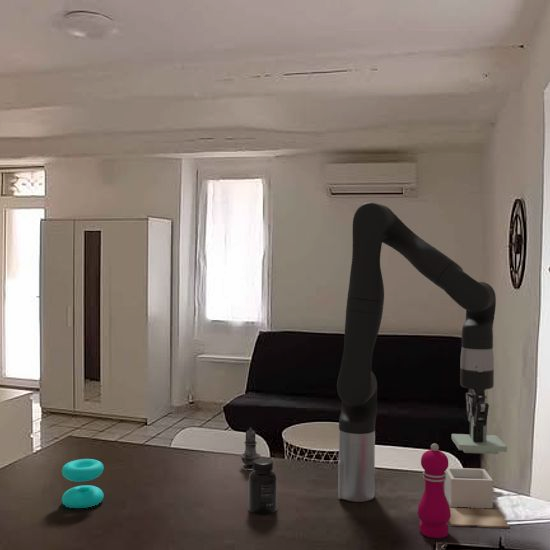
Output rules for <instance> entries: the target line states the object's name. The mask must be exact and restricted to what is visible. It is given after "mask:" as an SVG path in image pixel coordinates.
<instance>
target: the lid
mask: <svg viewBox="0 0 550 550" xmlns="http://www.w3.org/2000/svg"><path fill="white" fill-rule="evenodd" d="M478 420H481V418H478ZM472 423H473V417H471V437H470V433H469V434H465V433H451V440H452V442H453V443H454V444H455V446H456V448H457V449H458V450H459V451H463V453H465V454H483V455H485V454H486V455H487V454H489V455H490V454H491V455H499V452H502V453H507V452H508V450H507V449H508V447H507V445H506V444H505V443H504V441H502V440H501V439H500V438H499V437H498V436H497V435H495V434H494V435H493V434H491V435H490V434H487V431H488V430H487V429H488V427H487V425H488V424H486V426H484V427H483V442H481V443H480V442H474V441H473V424H472Z"/></svg>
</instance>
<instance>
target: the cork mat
mask: <svg viewBox="0 0 550 550" xmlns="http://www.w3.org/2000/svg"><path fill="white" fill-rule="evenodd" d="M450 512H451V517H450V520H449V521H448V522H449V524H450V526H452V527H470V526H477V527H476V528H496V529H497V528H499V529H500V528H501V529H503V528H504V529H510V527H511V526H510V525H509V523H508V521H507V520H506V518H505V517H504V516H503V514H502V513H501V512H500V510H499V509H494V508H493V509H484V508H457V507H450Z"/></svg>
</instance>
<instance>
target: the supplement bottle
mask: <svg viewBox="0 0 550 550" xmlns="http://www.w3.org/2000/svg"><path fill="white" fill-rule="evenodd" d="M273 470H274V461H273V460H272V459H270V458H261V457H260V458H259V459H255V460H254V461H253V471H251V472H250V473H249V475H248V510H249V512H250V513H252V514H254V515H256V514H257V516H258V515H259V516H267V515H268V514H269V515H271V514H274V513H276V512H277V508H278V475H277V473H276V472H275V470H274V471H273ZM269 515H268V516H269Z"/></svg>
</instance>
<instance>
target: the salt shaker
mask: <svg viewBox="0 0 550 550" xmlns="http://www.w3.org/2000/svg"><path fill="white" fill-rule="evenodd" d="M248 428H249V430H246V432H245V442H244V444H245V446H244V448H245V451H244V453H241V454H240V458H241V461H242V463H243V465H242V466H243V468H244V469H253V461H254V460H255V459H261V454H260V453H258V452H257V449H256V448H257V446H256V445H257V441H256V431H255V430H254V429H253V428H252V427H251V426H250V427H248Z"/></svg>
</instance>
